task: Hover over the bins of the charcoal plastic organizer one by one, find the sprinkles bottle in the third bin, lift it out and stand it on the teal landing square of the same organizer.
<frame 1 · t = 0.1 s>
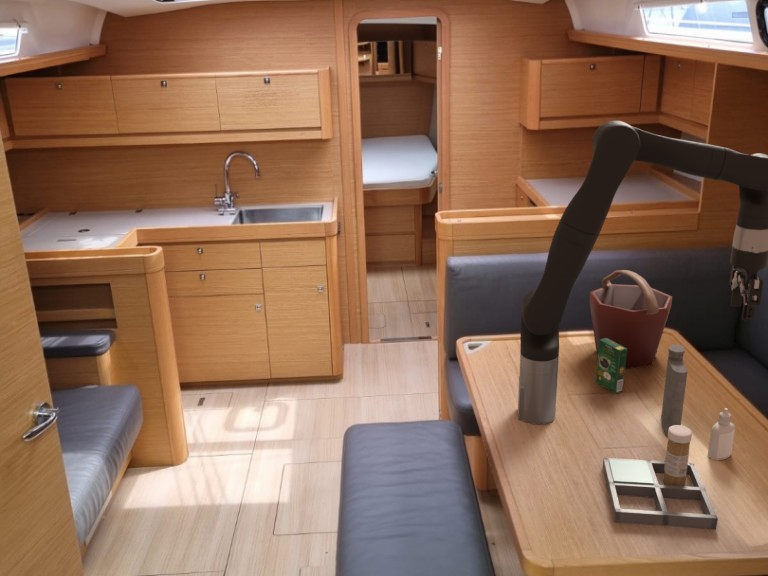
hand: (741, 313, 167), 29 cm above the table, tool pointing down, fingers open, 8 cm apart
eye dropper bottle: (719, 456, 164), on the table
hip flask: (669, 422, 179), on the table
coffee box: (609, 388, 196), on the table
bucket: (627, 356, 214), on the table
organizer: (655, 496, 151), on the table
sprinkles bottle: (673, 485, 155), resting in organizer
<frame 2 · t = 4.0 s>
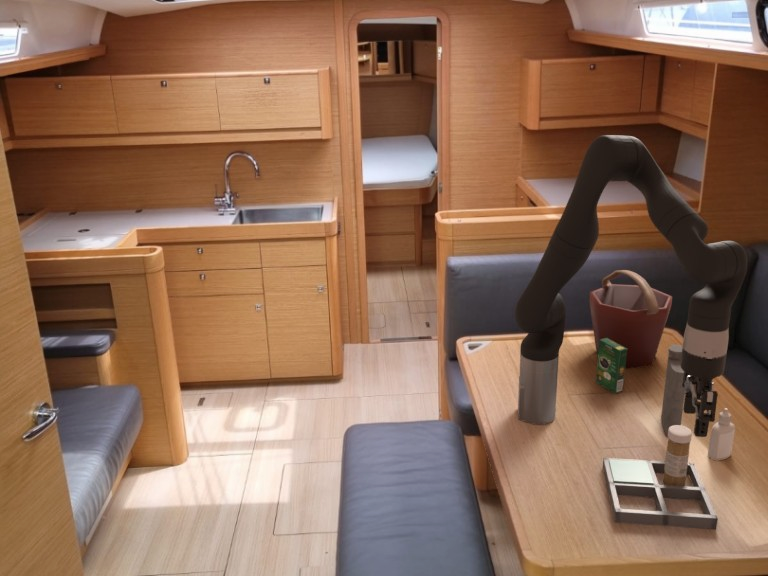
hand: (694, 424, 139), 20 cm above the table, tool pointing down, fingers open, 8 cm apart
nothing on the table moved.
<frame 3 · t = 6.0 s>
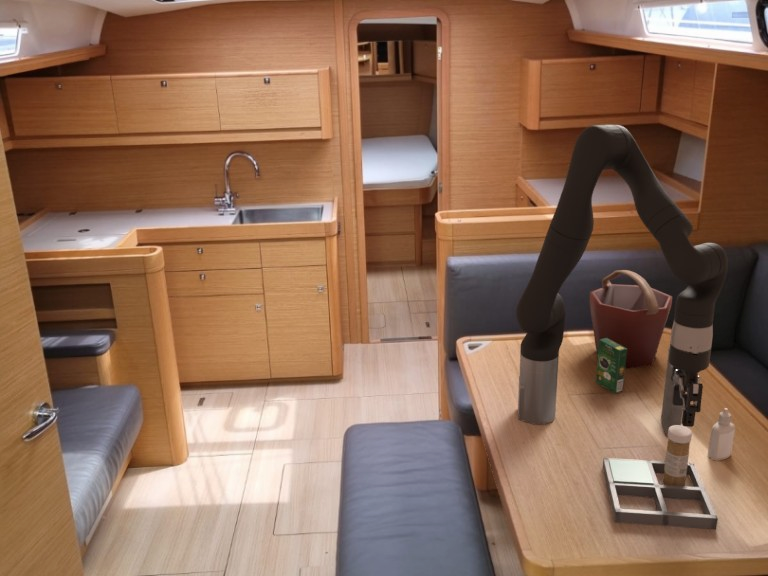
hand: (682, 415, 149), 17 cm above the table, tool pointing down, fingers open, 8 cm apart
nothing on the table moved.
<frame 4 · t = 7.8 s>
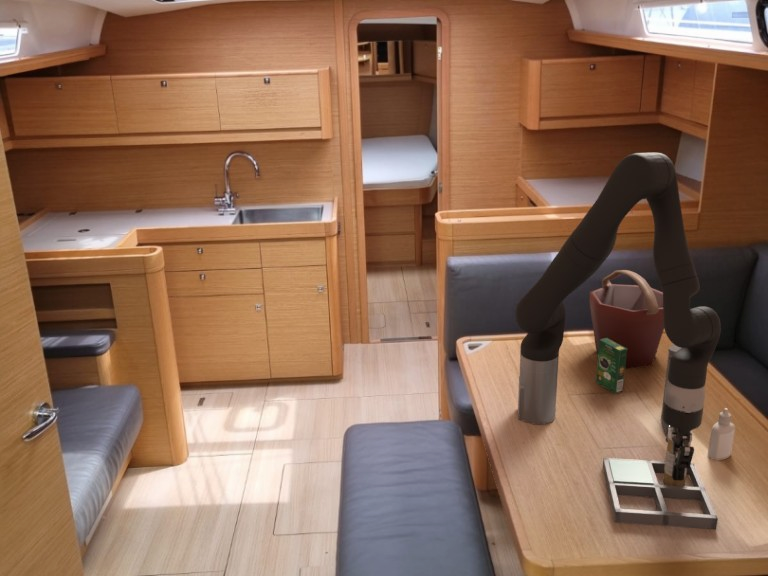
hand: (675, 472, 154), 3 cm above the table, tool pointing down, fingers closed on sprinkles bottle, 4 cm apart
sprinkles bottle: (673, 485, 155), resting in organizer, touching gripper
everything else where it was.
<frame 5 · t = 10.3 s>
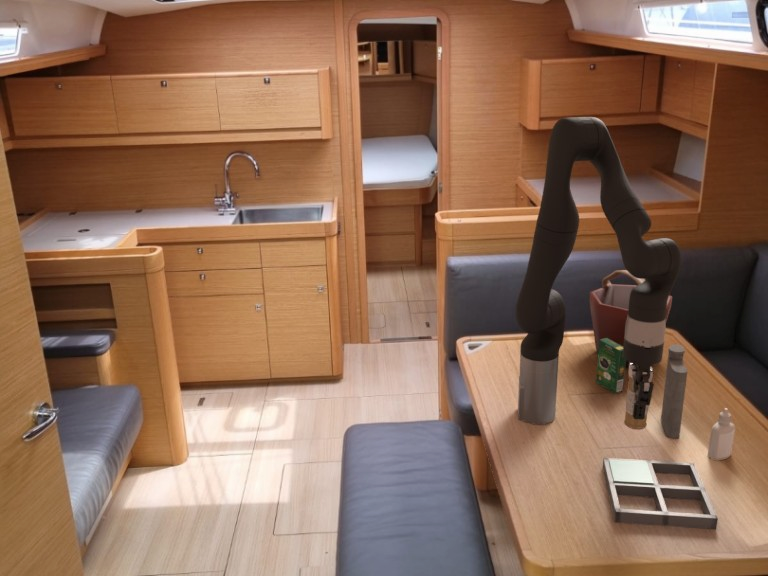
hand: (636, 411, 150), 17 cm above the table, tool pointing down, fingers closed on sprinkles bottle, 4 cm apart
sprinkles bottle: (634, 425, 152), point 14 cm above the table, touching gripper
everything else where it was.
when the fingers open (7 cm above the table, at t = 13.0 s): sprinkles bottle drops 1 cm, resting on organizer.
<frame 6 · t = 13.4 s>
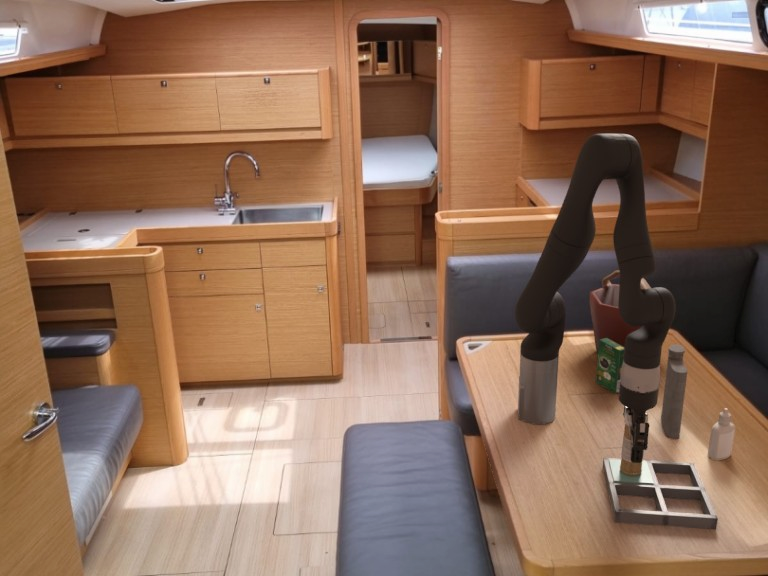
hand: (632, 450, 153), 8 cm above the table, tool pointing down, fingers open, 8 cm apart
sprinkles bottle: (630, 471, 155), point 3 cm above the table, touching organizer
everything else where it was.
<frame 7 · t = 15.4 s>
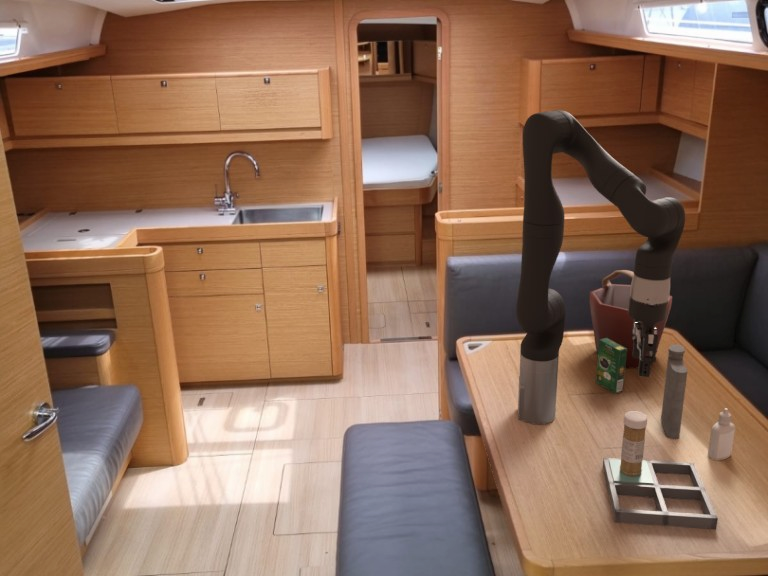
hand: (640, 366, 154), 24 cm above the table, tool pointing down, fingers open, 8 cm apart
nothing on the table moved.
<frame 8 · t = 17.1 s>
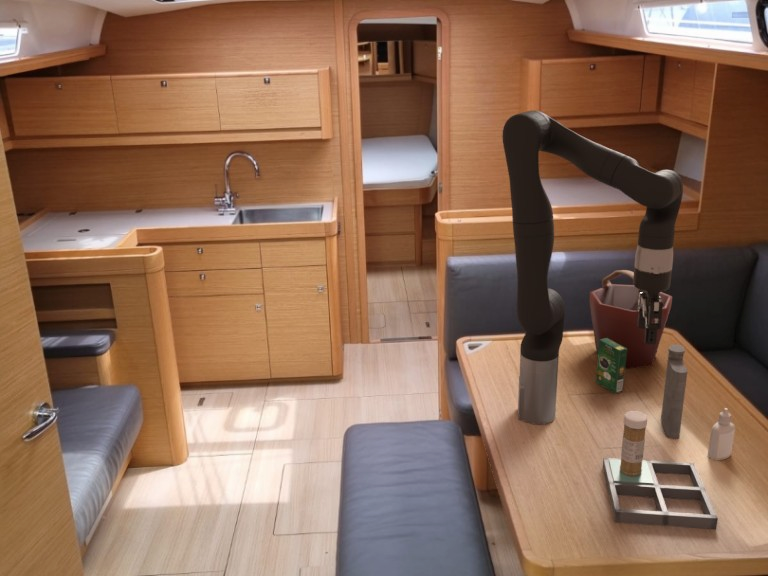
hand: (646, 335, 159), 28 cm above the table, tool pointing down, fingers open, 8 cm apart
nothing on the table moved.
at the end: sprinkles bottle 0.0 cm from the target spot on the organizer, point 2.6 cm above the organizer's base; sprinkles bottle tilted 0°; the gripper is holding nothing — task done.
